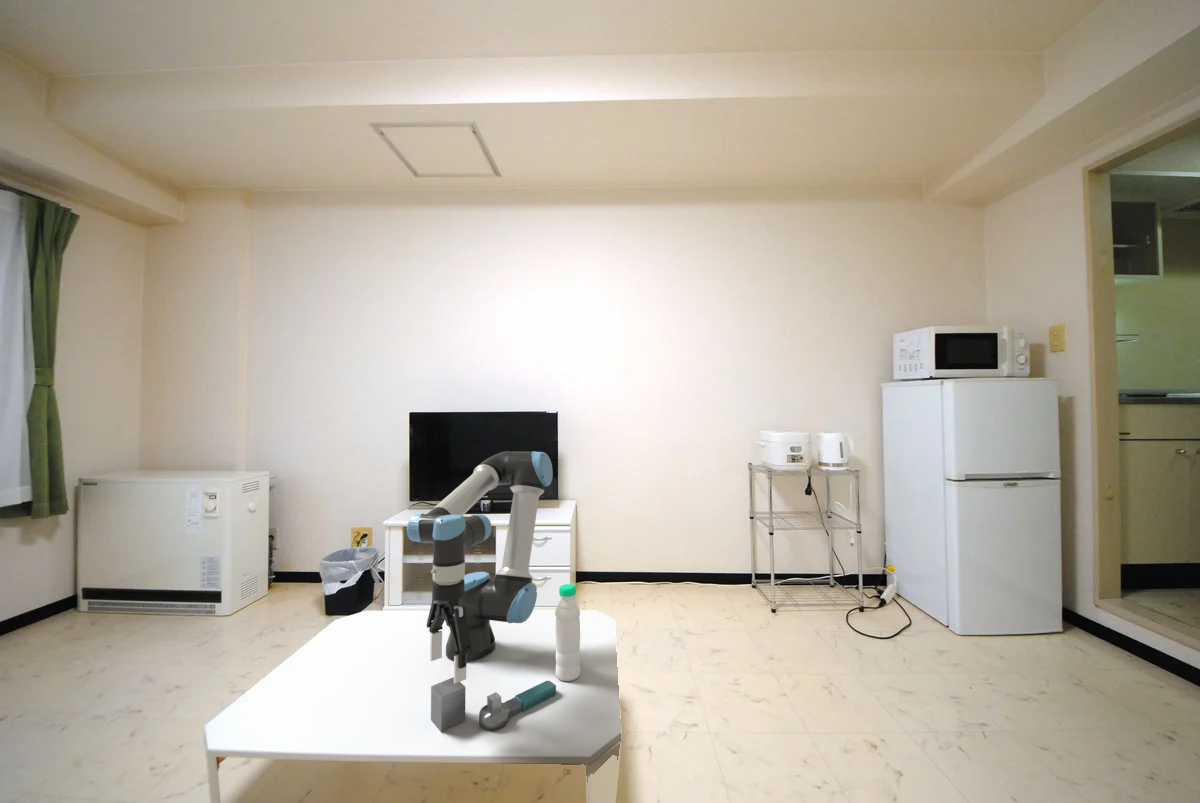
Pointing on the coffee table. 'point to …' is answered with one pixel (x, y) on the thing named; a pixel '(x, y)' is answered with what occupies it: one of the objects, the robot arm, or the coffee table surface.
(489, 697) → the ratchet
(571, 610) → the water bottle
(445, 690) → the grey metal block
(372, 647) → the coffee table surface
